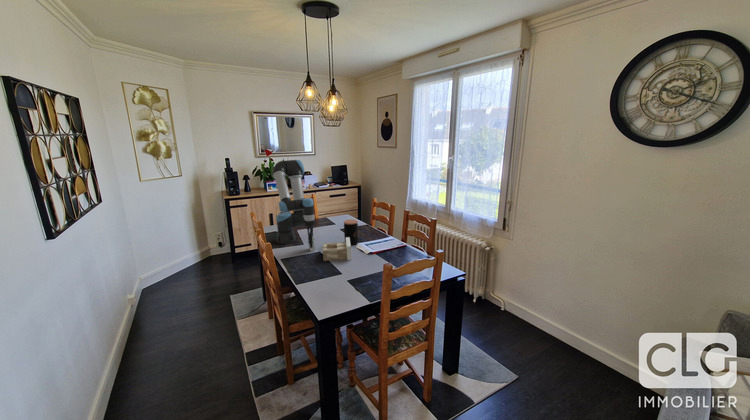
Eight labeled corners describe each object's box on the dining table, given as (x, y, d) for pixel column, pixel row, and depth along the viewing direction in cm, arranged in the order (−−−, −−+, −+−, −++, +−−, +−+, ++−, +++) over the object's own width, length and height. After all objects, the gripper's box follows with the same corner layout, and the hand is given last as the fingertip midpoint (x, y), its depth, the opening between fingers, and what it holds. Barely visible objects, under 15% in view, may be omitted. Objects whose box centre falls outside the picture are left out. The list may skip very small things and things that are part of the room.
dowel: (309, 249, 217) (308, 236, 215) (314, 248, 218) (313, 236, 215) (309, 251, 214) (308, 238, 211) (314, 251, 214) (313, 238, 212)
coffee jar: (356, 246, 221) (355, 223, 216) (343, 245, 223) (341, 223, 219) (360, 241, 231) (359, 219, 227) (347, 240, 233) (346, 219, 229)
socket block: (324, 252, 210) (323, 243, 208) (346, 251, 212) (345, 242, 210) (323, 260, 197) (322, 251, 195) (347, 258, 199) (346, 249, 197)
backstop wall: (346, 250, 214) (345, 237, 212) (350, 249, 215) (349, 237, 212) (347, 260, 197) (346, 246, 194) (351, 260, 197) (350, 246, 195)
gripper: (305, 216, 217) (307, 246, 223) (302, 223, 201) (305, 254, 207) (315, 216, 218) (317, 245, 224) (313, 222, 202) (316, 254, 208)
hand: (312, 249), depth 216 cm, fingers closed on dowel, 4 cm apart
